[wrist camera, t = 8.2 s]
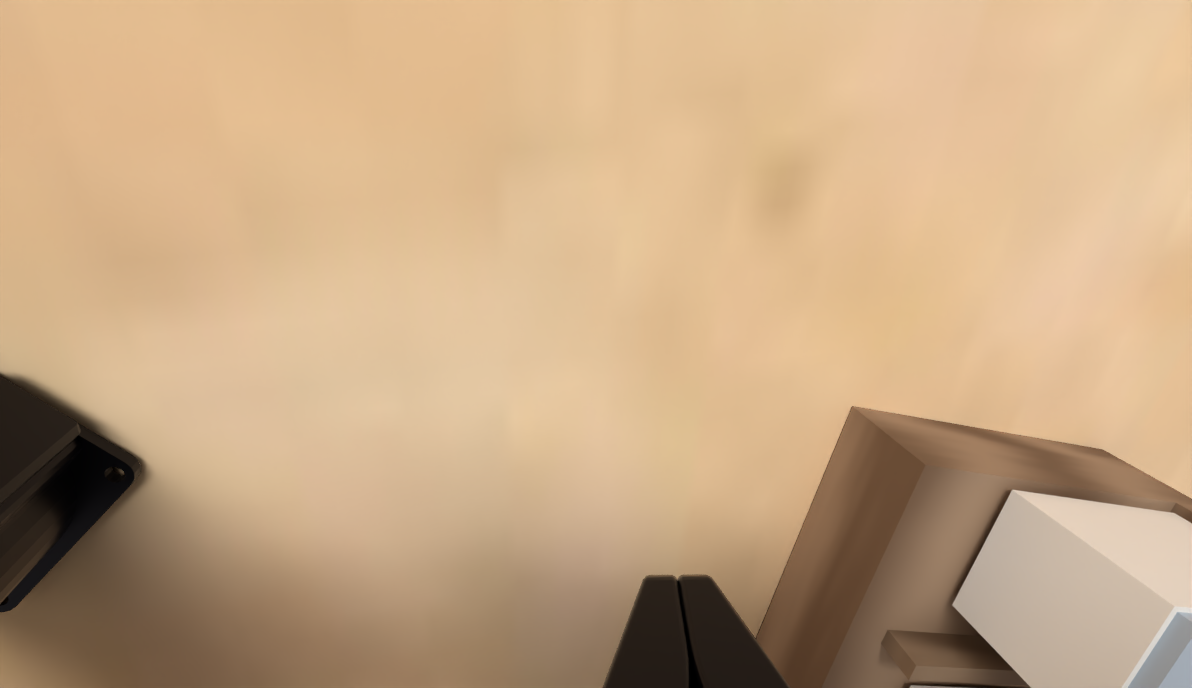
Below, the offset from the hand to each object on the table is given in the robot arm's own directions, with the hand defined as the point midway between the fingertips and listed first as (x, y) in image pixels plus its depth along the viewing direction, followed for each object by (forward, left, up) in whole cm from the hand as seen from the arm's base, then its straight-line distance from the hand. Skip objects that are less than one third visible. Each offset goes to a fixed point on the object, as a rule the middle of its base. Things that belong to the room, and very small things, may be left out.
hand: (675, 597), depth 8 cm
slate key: (+6, -17, -8) cm, 20 cm away
